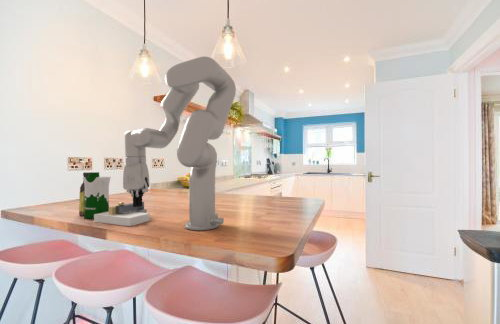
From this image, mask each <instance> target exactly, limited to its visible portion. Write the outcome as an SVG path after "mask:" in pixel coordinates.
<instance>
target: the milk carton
mask: <svg viewBox="0 0 500 324" xmlns="http://www.w3.org/2000/svg"><path fill="white" fill-rule="evenodd" d="M88 176H89V177H84V176H83V177H82V179H83V180H82V181H84V185H85V211H84V215H83V218H84V219H94V214H99V213H104V212H109V207H110V203H109V202H110V193H109V190H110V183H111V176H100V172H91V173H89V175H88Z"/></svg>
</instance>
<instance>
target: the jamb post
mask: <svg viewBox="0 0 500 324" xmlns="http://www.w3.org/2000/svg"><path fill="white" fill-rule="evenodd" d="M130 212H141V213H148V212H147V209H145V208H144V209H142V210H134V211H130Z"/></svg>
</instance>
